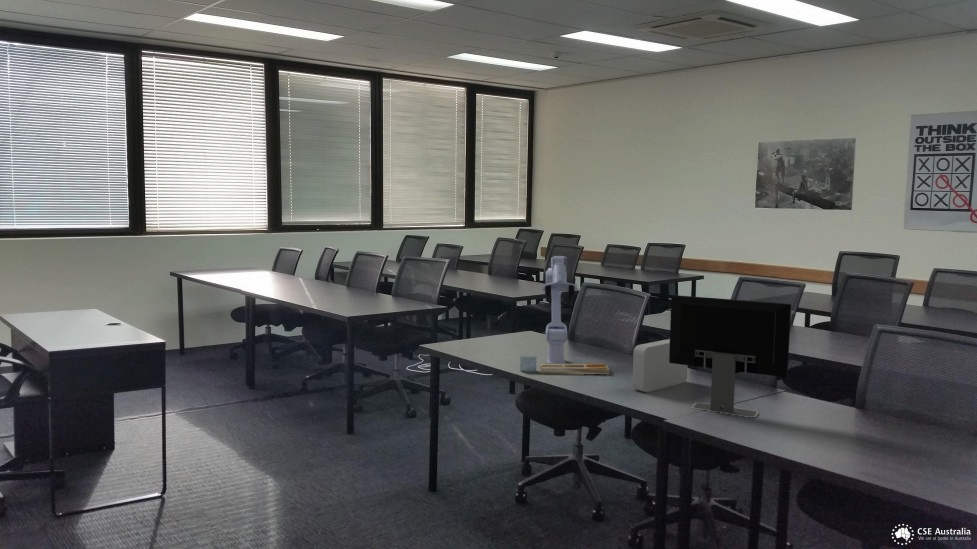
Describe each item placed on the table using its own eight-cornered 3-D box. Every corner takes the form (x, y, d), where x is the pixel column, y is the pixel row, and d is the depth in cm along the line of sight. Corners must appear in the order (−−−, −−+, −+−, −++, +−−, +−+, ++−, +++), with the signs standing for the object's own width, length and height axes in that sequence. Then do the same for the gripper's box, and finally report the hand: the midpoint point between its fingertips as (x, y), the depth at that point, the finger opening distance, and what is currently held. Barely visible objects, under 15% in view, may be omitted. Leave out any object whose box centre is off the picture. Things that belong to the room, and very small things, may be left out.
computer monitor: (786, 416, 256) (792, 303, 251) (782, 422, 248) (788, 306, 244) (670, 399, 276) (674, 294, 272) (664, 404, 269) (667, 296, 265)
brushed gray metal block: (520, 370, 321) (520, 355, 320) (536, 370, 320) (536, 356, 320) (520, 371, 318) (520, 357, 317) (536, 372, 318) (536, 357, 317)
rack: (540, 368, 323) (540, 362, 323) (606, 369, 322) (606, 363, 322) (540, 373, 314) (541, 367, 314) (609, 374, 313) (609, 368, 313)
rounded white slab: (671, 378, 308) (673, 336, 306) (687, 382, 302) (688, 339, 300) (627, 389, 290) (628, 344, 288) (642, 393, 284) (644, 348, 282)
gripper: (542, 271, 312) (542, 295, 303) (576, 271, 311) (578, 295, 302) (542, 282, 317) (542, 306, 308) (575, 282, 317) (577, 306, 307)
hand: (560, 302), depth 306 cm, fingers open, 7 cm apart
